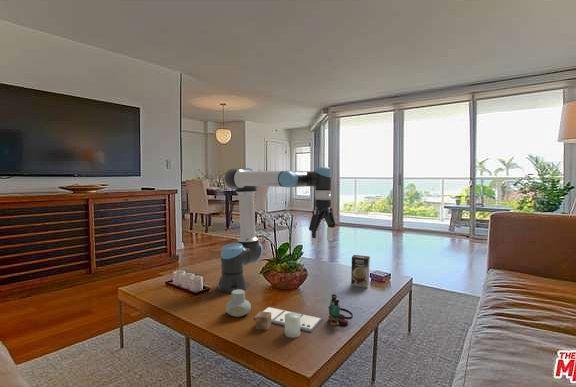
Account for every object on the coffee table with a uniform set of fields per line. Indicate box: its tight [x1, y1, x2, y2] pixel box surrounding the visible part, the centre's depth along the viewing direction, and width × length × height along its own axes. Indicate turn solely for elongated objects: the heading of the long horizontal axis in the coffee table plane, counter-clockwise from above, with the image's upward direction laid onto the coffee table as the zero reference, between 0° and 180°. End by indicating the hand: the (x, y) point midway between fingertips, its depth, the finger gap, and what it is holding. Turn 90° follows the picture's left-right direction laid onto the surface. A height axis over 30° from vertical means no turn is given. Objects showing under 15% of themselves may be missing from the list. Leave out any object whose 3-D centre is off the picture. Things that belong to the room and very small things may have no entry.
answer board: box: [253, 306, 323, 333], centre depth 135 cm, size 26×12×1 cm, turn 63°
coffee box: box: [350, 254, 371, 289], centre depth 177 cm, size 9×6×16 cm
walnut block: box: [255, 310, 272, 331], centre depth 129 cm, size 5×5×5 cm
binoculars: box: [327, 293, 353, 327], centre depth 133 cm, size 9×11×10 cm
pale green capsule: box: [284, 312, 301, 339], centre depth 123 cm, size 6×6×7 cm
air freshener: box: [225, 289, 252, 318], centre depth 140 cm, size 11×8×10 cm
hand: (322, 242), depth 157 cm, fingers open, 13 cm apart
